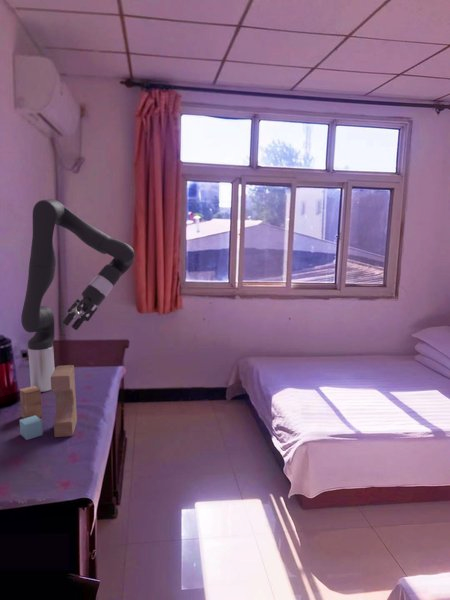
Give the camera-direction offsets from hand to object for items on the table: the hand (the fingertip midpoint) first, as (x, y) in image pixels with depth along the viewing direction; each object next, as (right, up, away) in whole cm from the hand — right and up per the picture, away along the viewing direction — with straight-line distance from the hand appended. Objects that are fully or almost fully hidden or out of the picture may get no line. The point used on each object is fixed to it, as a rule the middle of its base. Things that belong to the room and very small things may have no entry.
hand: (69, 326), depth 156 cm
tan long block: (-12, -31, -3) cm, 33 cm away
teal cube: (-6, -33, -15) cm, 37 cm away
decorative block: (+3, -33, -12) cm, 35 cm away
